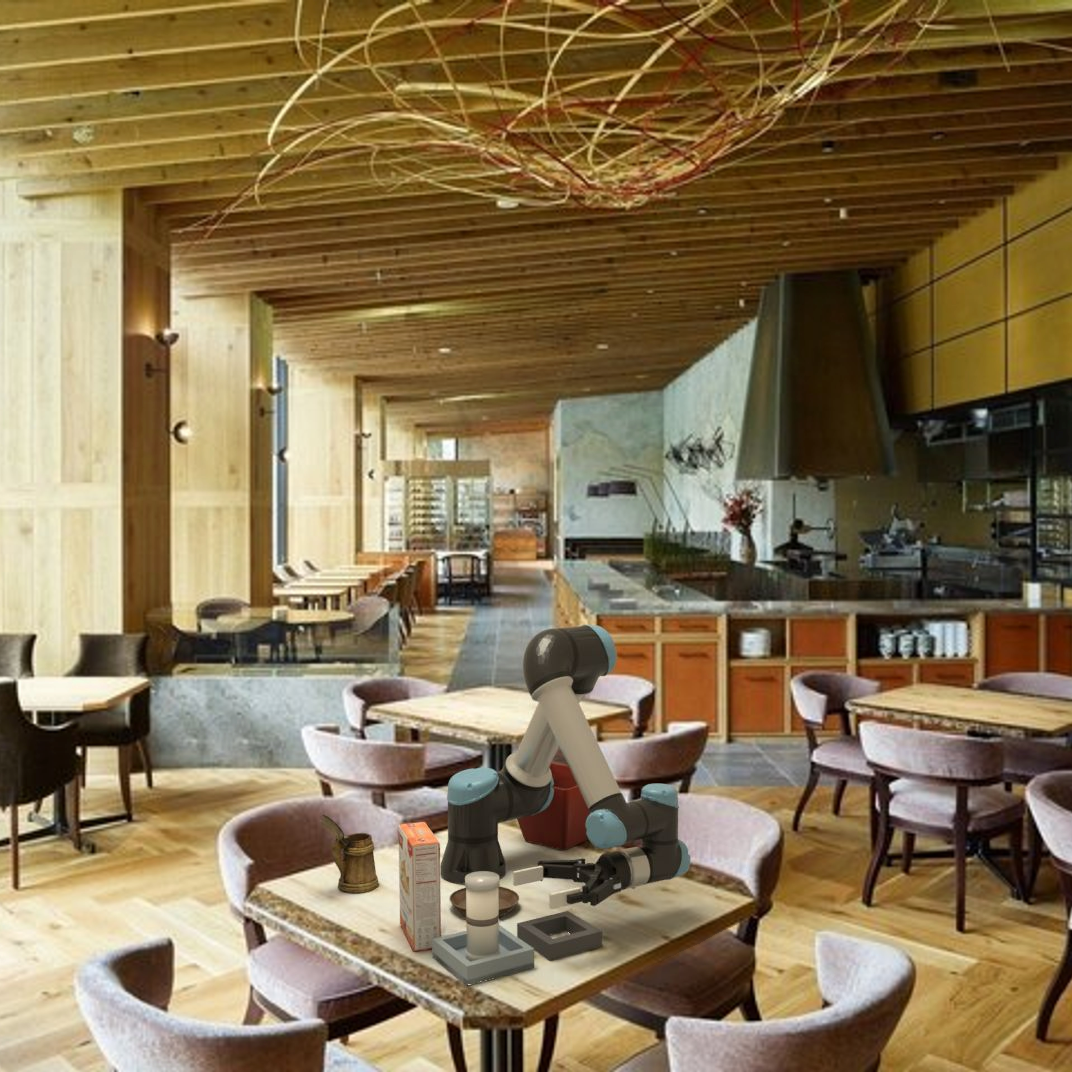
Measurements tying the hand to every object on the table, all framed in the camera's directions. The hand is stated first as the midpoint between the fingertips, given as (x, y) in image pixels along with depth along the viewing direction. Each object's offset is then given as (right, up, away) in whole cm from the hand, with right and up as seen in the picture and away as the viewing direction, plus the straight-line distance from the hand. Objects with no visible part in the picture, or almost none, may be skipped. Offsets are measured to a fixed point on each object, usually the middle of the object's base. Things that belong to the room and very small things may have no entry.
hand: (531, 889), depth 199 cm
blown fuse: (-9, -11, -5) cm, 15 cm away
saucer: (-10, -12, +21) cm, 26 cm away
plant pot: (+7, -10, +67) cm, 68 cm away
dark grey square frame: (+5, -11, +4) cm, 13 cm away
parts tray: (-9, -12, -5) cm, 16 cm away
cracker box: (-22, -12, +7) cm, 26 cm away
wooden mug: (-41, -11, +33) cm, 53 cm away
